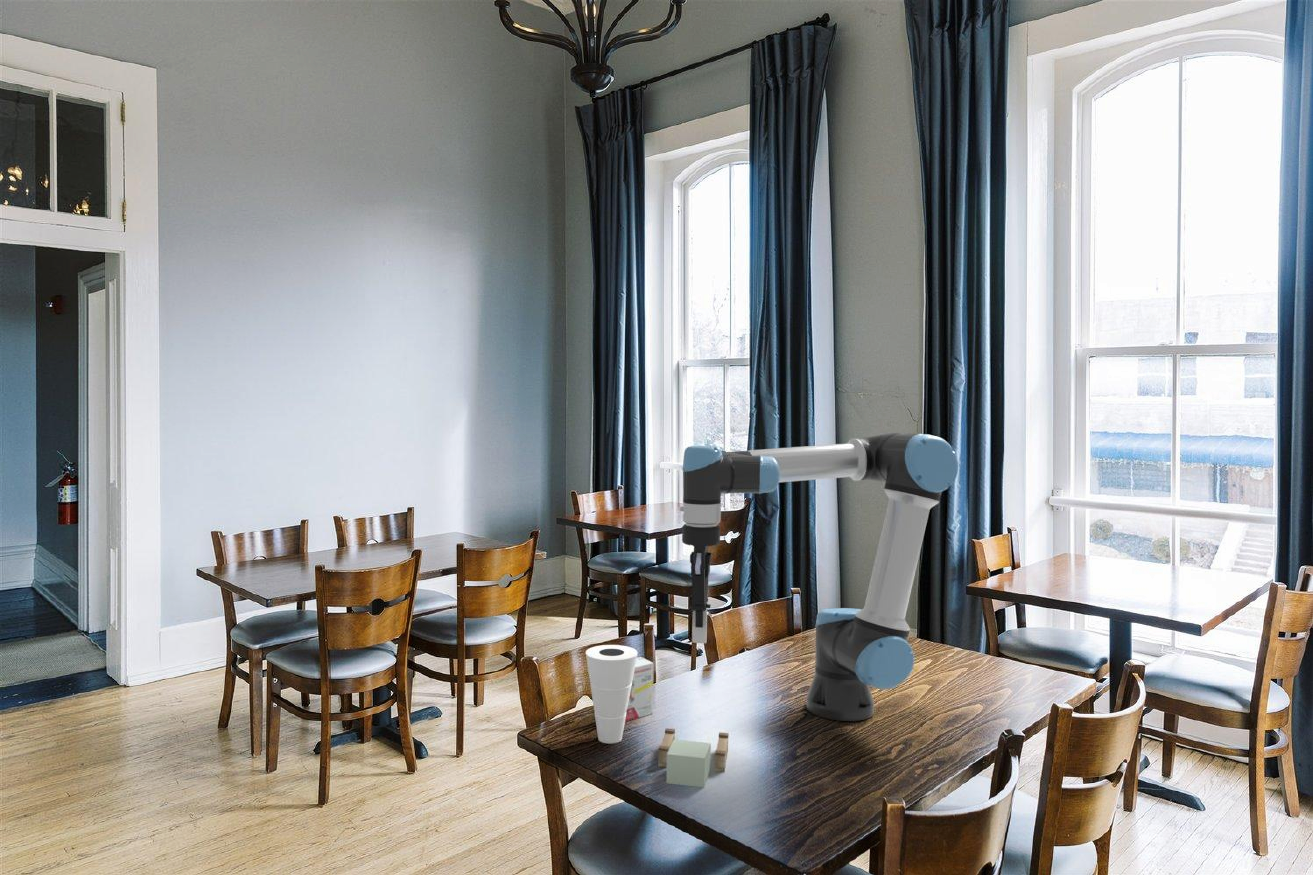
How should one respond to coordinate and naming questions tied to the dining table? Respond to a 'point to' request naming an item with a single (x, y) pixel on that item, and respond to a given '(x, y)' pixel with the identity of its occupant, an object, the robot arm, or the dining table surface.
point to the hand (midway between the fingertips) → (699, 641)
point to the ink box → (641, 690)
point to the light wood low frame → (719, 753)
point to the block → (688, 763)
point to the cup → (610, 687)
